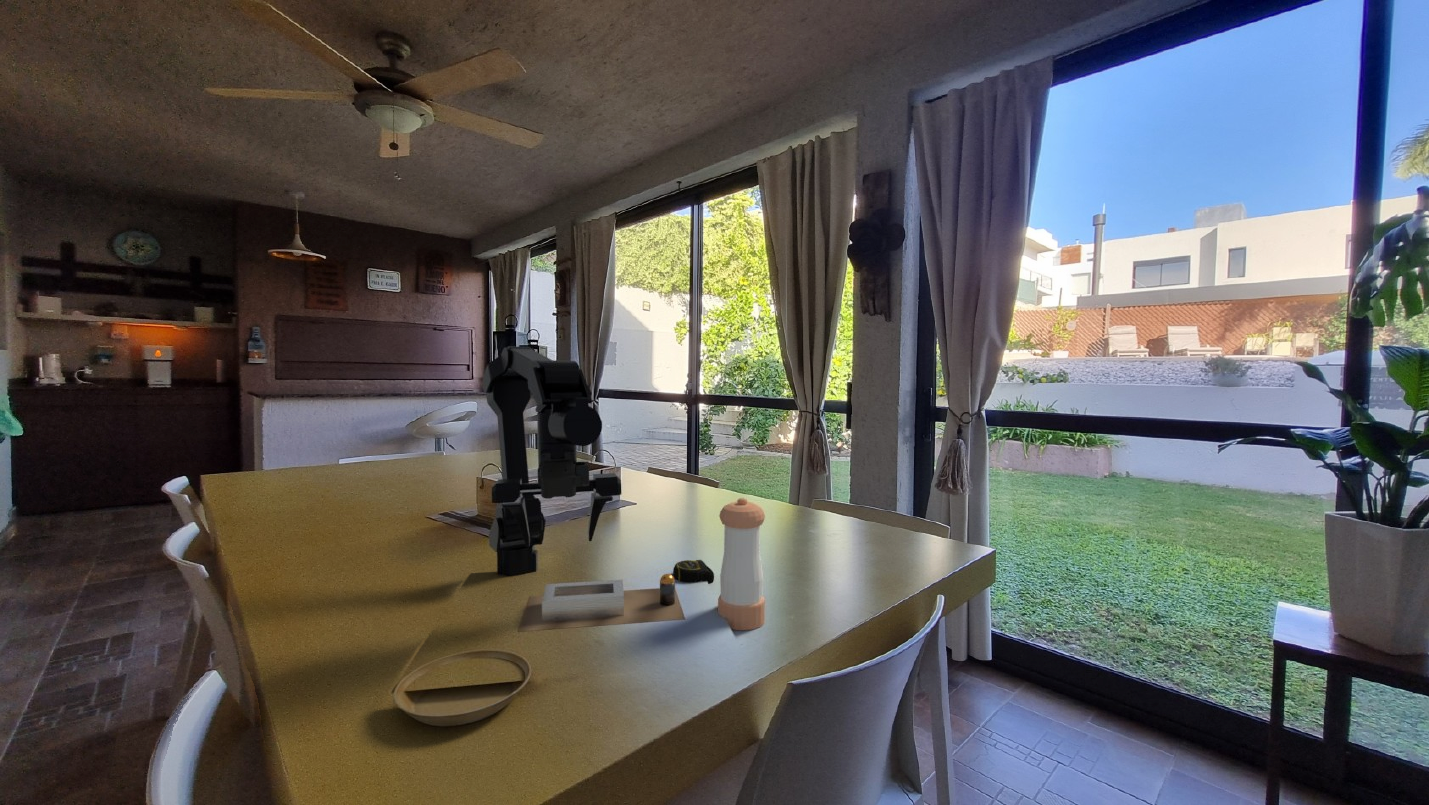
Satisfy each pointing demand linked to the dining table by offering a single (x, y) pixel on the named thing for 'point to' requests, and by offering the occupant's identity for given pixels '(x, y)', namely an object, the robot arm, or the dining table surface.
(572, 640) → the dining table surface
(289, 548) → the dining table surface
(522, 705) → the dining table surface
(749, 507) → the pepper shaker
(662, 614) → the keeper board
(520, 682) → the plant saucer
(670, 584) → the keeper stud
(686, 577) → the tape measure
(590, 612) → the grey rectangular frame
